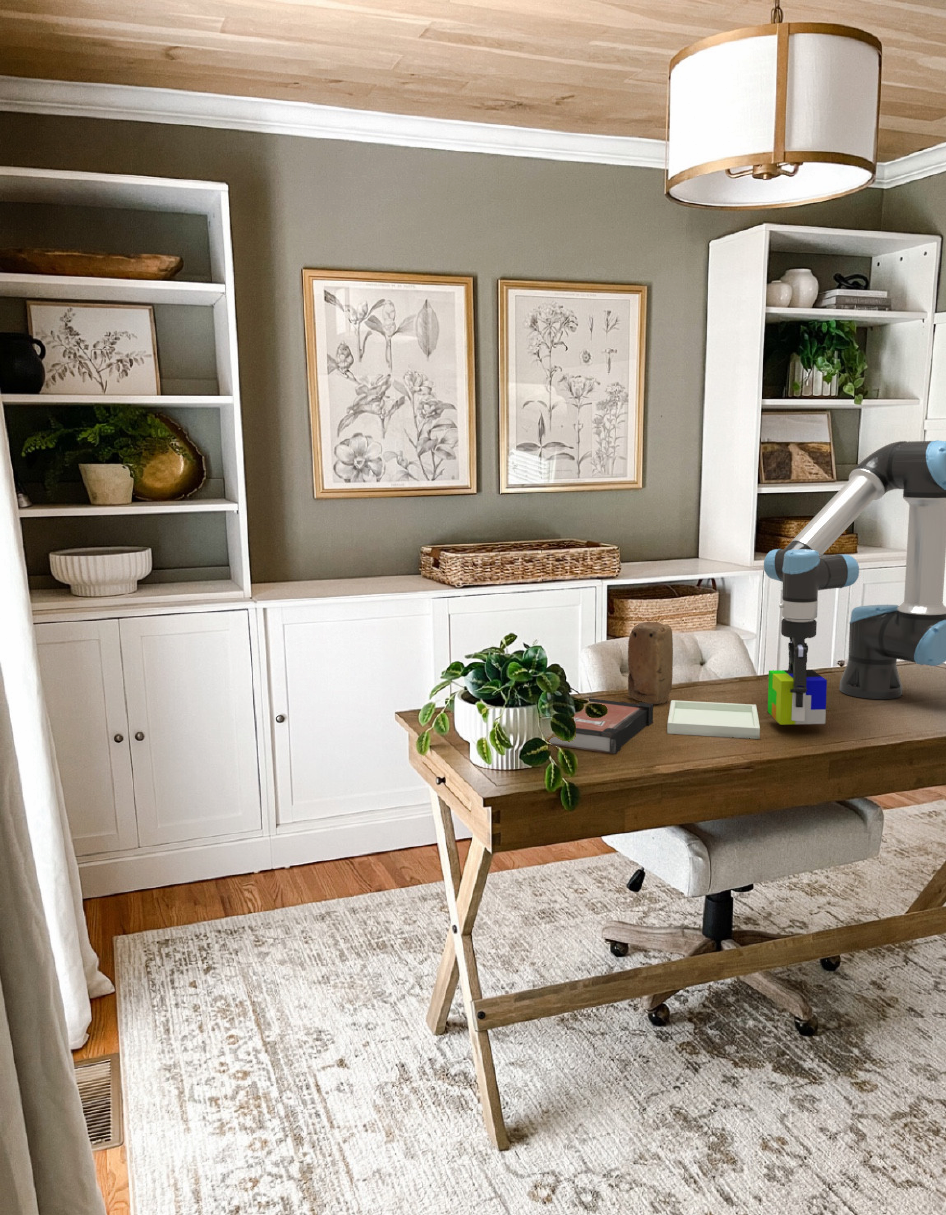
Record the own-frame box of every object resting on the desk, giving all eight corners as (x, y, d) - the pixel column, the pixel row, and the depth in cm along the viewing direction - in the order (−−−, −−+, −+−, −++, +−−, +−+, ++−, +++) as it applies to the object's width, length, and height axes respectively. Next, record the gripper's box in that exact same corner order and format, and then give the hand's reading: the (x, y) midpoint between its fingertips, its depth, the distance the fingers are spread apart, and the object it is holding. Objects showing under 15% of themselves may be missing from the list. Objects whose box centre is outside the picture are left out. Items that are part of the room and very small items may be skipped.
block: (674, 701, 241) (676, 624, 238) (656, 707, 236) (658, 628, 233) (640, 694, 249) (641, 619, 246) (622, 699, 244) (623, 623, 241)
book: (583, 715, 232) (583, 695, 231) (652, 724, 224) (653, 703, 223) (539, 745, 209) (539, 723, 208) (615, 756, 201) (615, 733, 200)
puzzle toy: (825, 723, 212) (826, 680, 210) (780, 724, 212) (781, 681, 211) (810, 711, 222) (812, 669, 220) (767, 712, 222) (768, 670, 220)
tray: (755, 714, 229) (755, 704, 228) (759, 739, 210) (759, 728, 209) (671, 710, 234) (671, 700, 233) (667, 733, 214) (667, 722, 214)
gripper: (778, 609, 225) (775, 698, 229) (785, 628, 203) (782, 727, 207) (811, 609, 223) (808, 700, 227) (822, 629, 201) (818, 729, 205)
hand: (795, 713), depth 217 cm, fingers closed on puzzle toy, 11 cm apart
